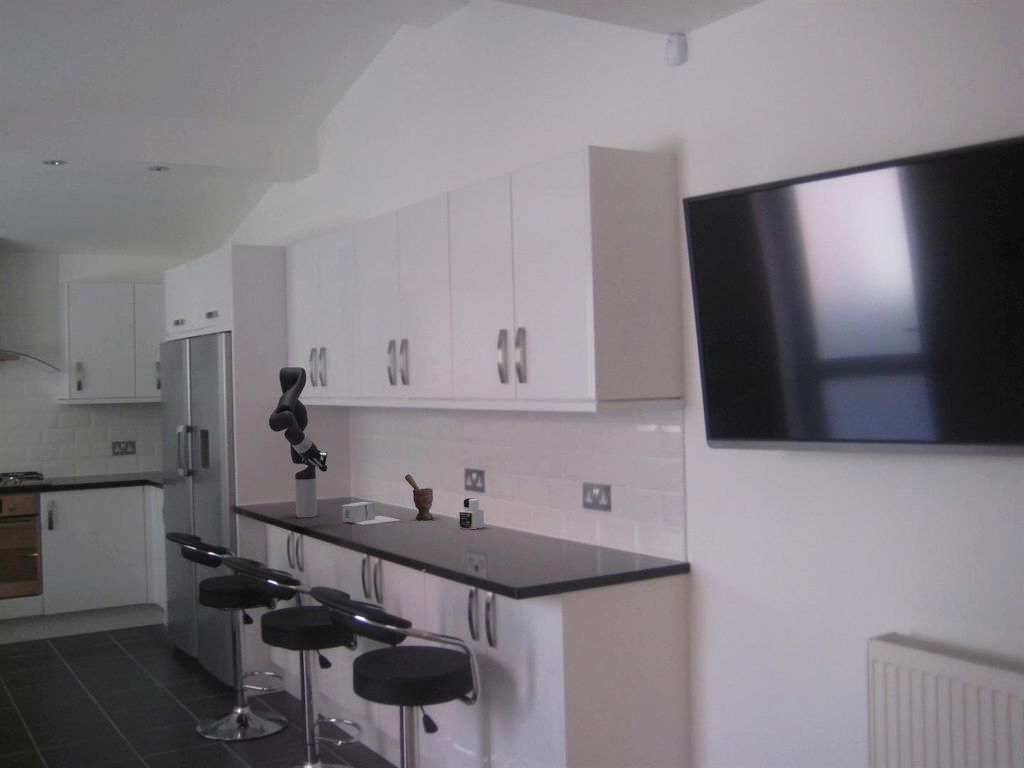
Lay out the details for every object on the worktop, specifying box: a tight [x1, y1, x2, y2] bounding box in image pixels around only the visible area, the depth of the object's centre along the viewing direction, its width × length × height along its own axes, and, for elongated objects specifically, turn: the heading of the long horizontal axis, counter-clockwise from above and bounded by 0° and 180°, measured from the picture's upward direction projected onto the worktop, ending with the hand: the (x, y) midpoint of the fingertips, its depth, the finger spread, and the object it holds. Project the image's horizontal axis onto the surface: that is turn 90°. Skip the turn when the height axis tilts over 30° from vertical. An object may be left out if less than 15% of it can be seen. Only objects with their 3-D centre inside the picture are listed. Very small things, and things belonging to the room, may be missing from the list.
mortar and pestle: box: [404, 473, 434, 521], centre depth 457 cm, size 12×9×20 cm
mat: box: [348, 515, 402, 527], centre depth 456 cm, size 20×18×1 cm
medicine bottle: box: [458, 497, 485, 530], centre depth 426 cm, size 7×7×12 cm
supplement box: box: [341, 501, 376, 524], centre depth 456 cm, size 7×7×13 cm
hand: (325, 470), depth 452 cm, fingers closed
